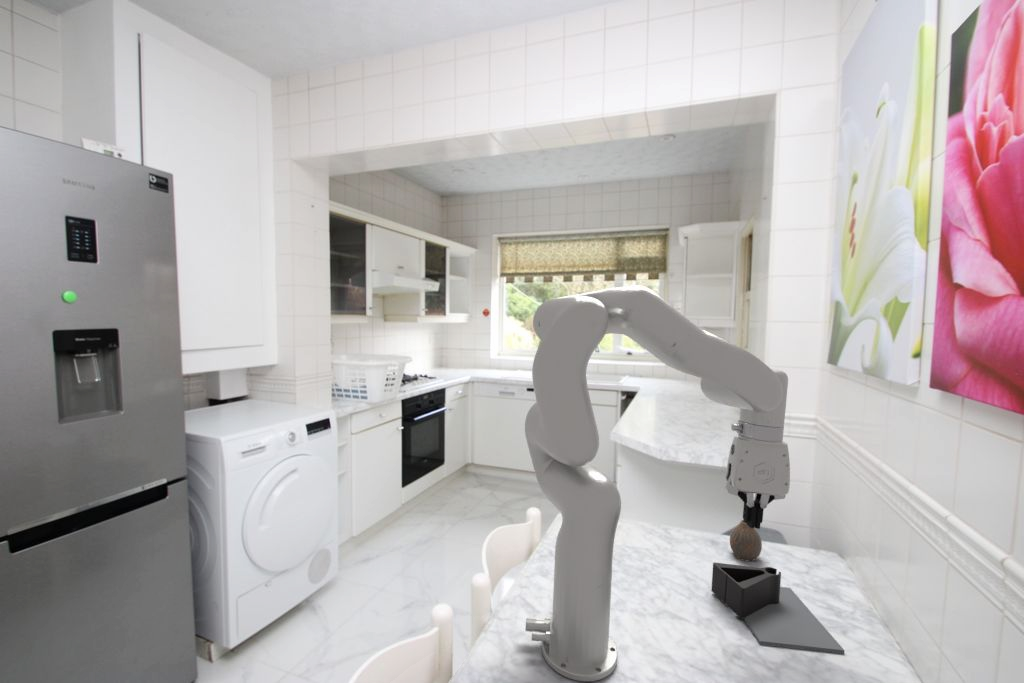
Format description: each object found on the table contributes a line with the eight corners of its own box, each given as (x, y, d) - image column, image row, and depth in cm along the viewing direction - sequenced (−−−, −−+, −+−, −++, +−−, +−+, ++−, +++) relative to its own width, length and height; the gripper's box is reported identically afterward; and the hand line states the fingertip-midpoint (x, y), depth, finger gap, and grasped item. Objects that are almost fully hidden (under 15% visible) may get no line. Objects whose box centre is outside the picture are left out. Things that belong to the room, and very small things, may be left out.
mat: (759, 644, 77) (759, 641, 77) (721, 583, 95) (721, 581, 95) (844, 653, 76) (844, 650, 76) (789, 590, 93) (789, 587, 93)
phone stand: (740, 619, 83) (794, 613, 85) (742, 588, 82) (796, 583, 85) (710, 590, 92) (760, 585, 94) (712, 562, 91) (761, 558, 94)
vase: (765, 566, 103) (767, 530, 102) (733, 562, 104) (735, 526, 104) (755, 551, 110) (757, 517, 109) (725, 547, 111) (727, 514, 110)
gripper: (727, 433, 81) (719, 529, 82) (812, 440, 80) (803, 539, 80) (713, 424, 89) (705, 512, 89) (790, 431, 87) (782, 521, 88)
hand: (751, 525), depth 85 cm, fingers closed
